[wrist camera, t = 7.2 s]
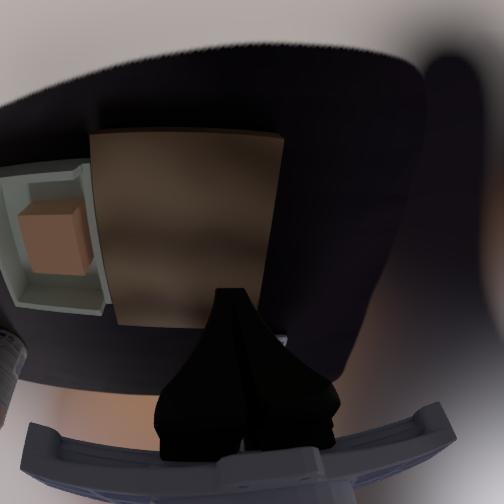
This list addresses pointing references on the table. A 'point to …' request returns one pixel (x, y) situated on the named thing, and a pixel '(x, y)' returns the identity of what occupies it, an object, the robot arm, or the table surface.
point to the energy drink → (9, 368)
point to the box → (13, 249)
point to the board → (182, 217)
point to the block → (57, 236)
